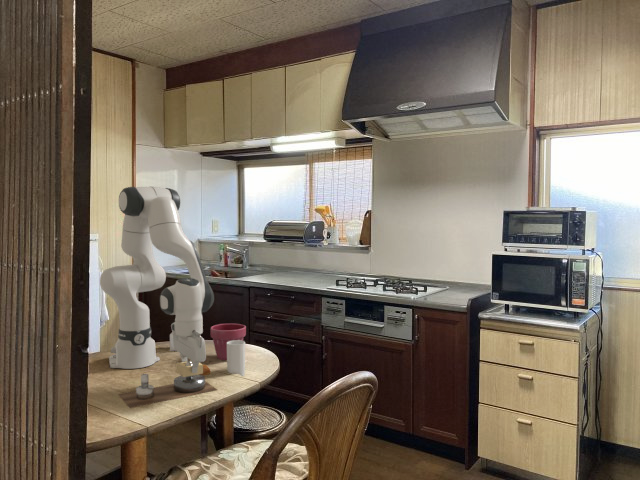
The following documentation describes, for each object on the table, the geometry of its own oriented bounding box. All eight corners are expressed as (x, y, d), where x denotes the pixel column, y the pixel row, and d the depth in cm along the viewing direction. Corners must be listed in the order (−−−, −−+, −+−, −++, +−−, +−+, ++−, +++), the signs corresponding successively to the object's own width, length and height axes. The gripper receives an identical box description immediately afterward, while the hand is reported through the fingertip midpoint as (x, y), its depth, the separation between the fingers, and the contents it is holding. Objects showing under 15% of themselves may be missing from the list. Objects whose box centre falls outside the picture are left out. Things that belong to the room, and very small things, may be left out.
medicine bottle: (172, 346, 229) (172, 319, 228) (189, 346, 229) (189, 319, 229) (169, 351, 222) (169, 323, 221) (186, 350, 222) (186, 323, 222)
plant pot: (232, 350, 223) (232, 321, 222) (253, 357, 213) (252, 326, 212) (203, 357, 212) (203, 326, 212) (224, 364, 203) (223, 332, 202)
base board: (118, 398, 165) (118, 394, 165) (201, 382, 181) (201, 378, 181) (129, 413, 154) (129, 408, 154) (217, 394, 170) (217, 389, 170)
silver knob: (134, 396, 164) (134, 374, 164) (150, 392, 167) (150, 371, 167) (139, 401, 160) (138, 378, 159) (155, 397, 163) (155, 375, 162)
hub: (169, 386, 173) (169, 359, 172) (198, 381, 179) (198, 355, 178) (180, 395, 165) (179, 367, 164) (209, 389, 170) (209, 362, 170)
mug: (242, 378, 186) (241, 345, 186) (224, 377, 188) (223, 344, 187) (250, 369, 196) (250, 338, 196) (233, 368, 198) (233, 337, 197)
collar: (176, 372, 172) (176, 363, 172) (195, 368, 176) (195, 359, 176) (183, 377, 167) (183, 368, 166) (202, 373, 170) (202, 364, 170)
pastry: (215, 377, 187) (215, 367, 187) (198, 381, 183) (198, 371, 183) (204, 371, 195) (204, 361, 195) (187, 374, 191) (187, 364, 191)
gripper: (210, 332, 164) (211, 375, 164) (187, 321, 180) (187, 360, 181) (191, 335, 160) (191, 379, 161) (169, 323, 177) (170, 363, 178)
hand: (189, 369), depth 171 cm, fingers closed on collar, 7 cm apart
